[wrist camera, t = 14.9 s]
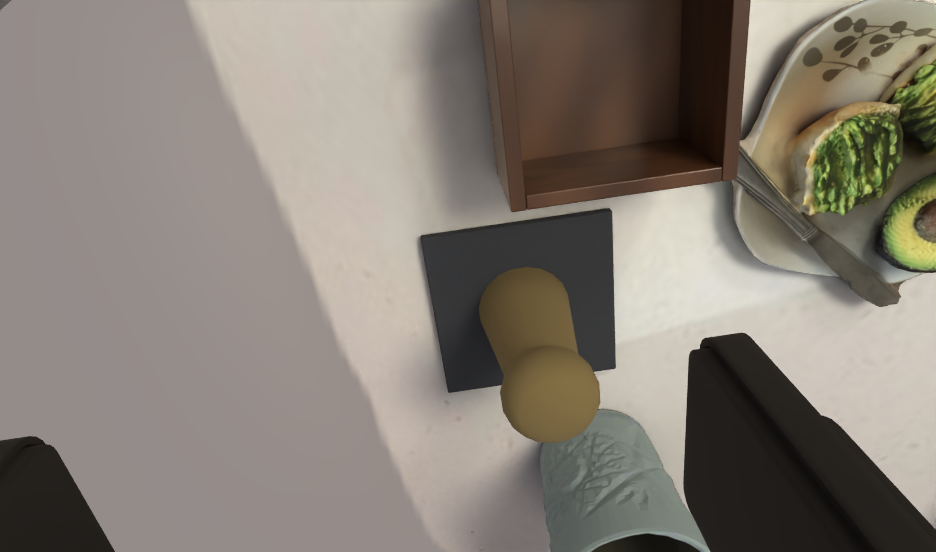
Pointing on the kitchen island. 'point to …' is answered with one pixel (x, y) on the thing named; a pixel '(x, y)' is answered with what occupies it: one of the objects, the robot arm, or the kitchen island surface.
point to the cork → (538, 356)
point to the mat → (509, 247)
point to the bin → (613, 95)
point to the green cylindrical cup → (613, 493)
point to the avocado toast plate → (848, 152)
